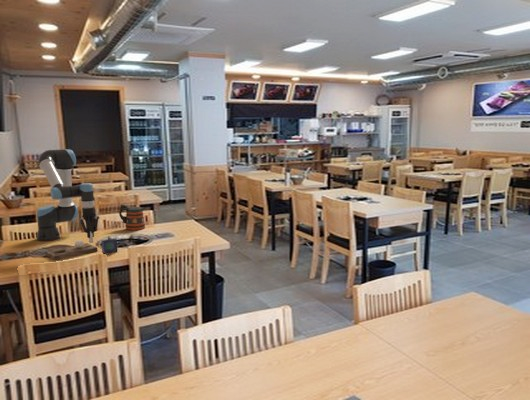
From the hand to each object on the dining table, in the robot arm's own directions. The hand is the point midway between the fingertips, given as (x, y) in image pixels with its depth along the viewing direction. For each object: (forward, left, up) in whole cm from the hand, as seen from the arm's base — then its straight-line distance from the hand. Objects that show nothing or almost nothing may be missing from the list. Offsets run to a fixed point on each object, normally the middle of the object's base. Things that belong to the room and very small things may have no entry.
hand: (91, 242), depth 270 cm
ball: (0, -8, 0) cm, 8 cm away
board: (0, -13, -5) cm, 14 cm away
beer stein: (-33, +47, -5) cm, 58 cm away
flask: (+17, +4, -5) cm, 18 cm away
